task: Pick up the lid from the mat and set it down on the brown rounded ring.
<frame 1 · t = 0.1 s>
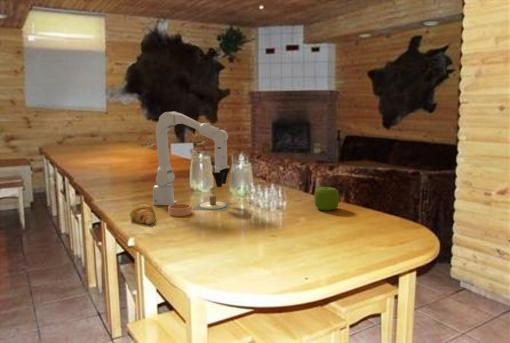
hand: (221, 185, 207), 10 cm above the table, tool pointing down, fingers open, 7 cm apart
lid: (213, 206, 207), resting on mat
mat: (213, 207, 207), on the table
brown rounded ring: (180, 213, 195), on the table
green rounded cube: (326, 209, 203), on the table
croissant: (142, 220, 187), on the table
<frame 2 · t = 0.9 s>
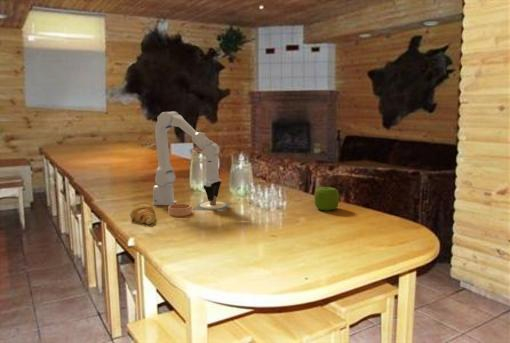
hand: (212, 198, 206), 4 cm above the table, tool pointing down, fingers open, 7 cm apart
nothing on the table moved.
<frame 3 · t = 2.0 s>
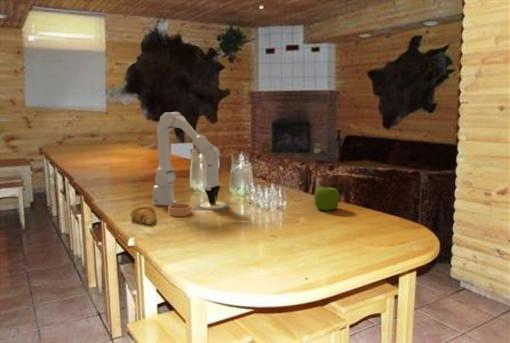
hand: (212, 202, 207), 2 cm above the table, tool pointing down, fingers closed on lid, 3 cm apart
lid: (213, 206, 207), resting on mat, touching gripper
everything else where it was.
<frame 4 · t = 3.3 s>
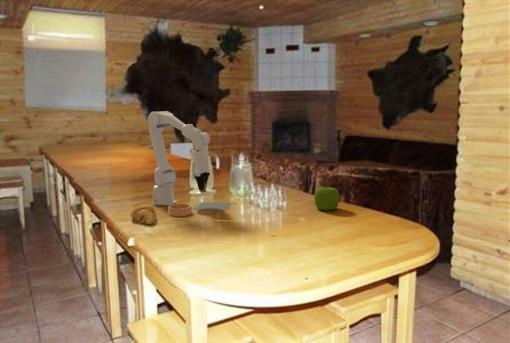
hand: (202, 189, 202), 9 cm above the table, tool pointing down, fingers closed on lid, 3 cm apart
lid: (202, 193, 202), point 7 cm above the table, touching gripper
everything else where it was.
when the fingers open (7 cm above the table, at t = 4.8 s): lid drops 1 cm, resting on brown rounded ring.
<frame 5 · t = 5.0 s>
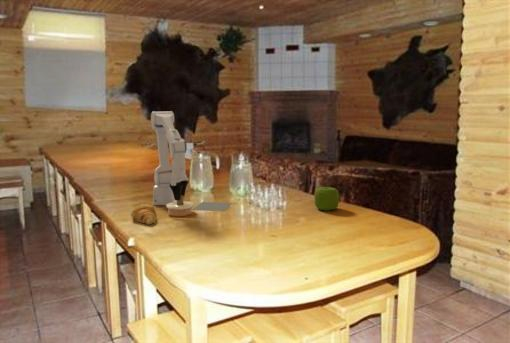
hand: (179, 198, 194), 7 cm above the table, tool pointing down, fingers open, 5 cm apart
lid: (180, 206, 195), point 3 cm above the table, touching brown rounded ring
everything else where it was.
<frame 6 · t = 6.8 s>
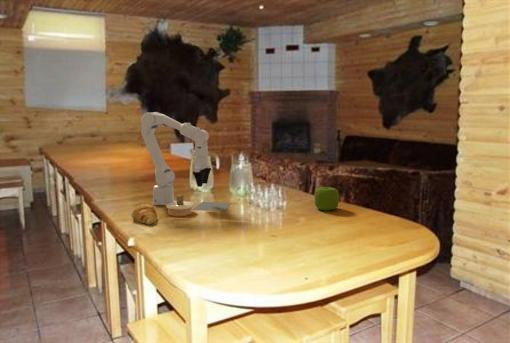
hand: (202, 184, 208), 10 cm above the table, tool pointing down, fingers open, 7 cm apart
nothing on the table moved.
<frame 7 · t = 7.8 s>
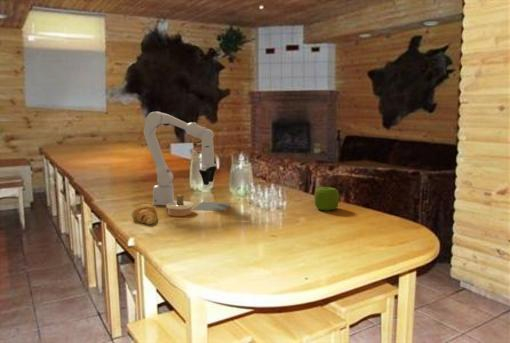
hand: (208, 183, 213), 10 cm above the table, tool pointing down, fingers open, 7 cm apart
nothing on the table moved.
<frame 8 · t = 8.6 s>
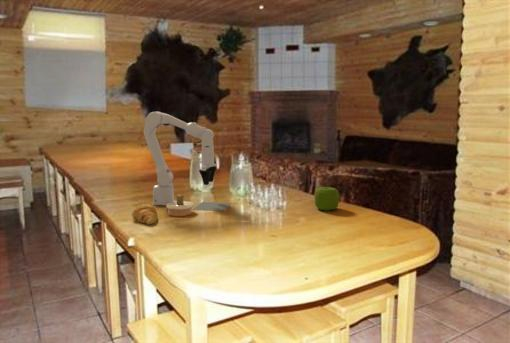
hand: (208, 183, 213), 10 cm above the table, tool pointing down, fingers open, 7 cm apart
nothing on the table moved.
at the end: lid 0.2 cm from the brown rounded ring (horizontally); lid point 3.5 cm above the table; lid tilted 0° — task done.
